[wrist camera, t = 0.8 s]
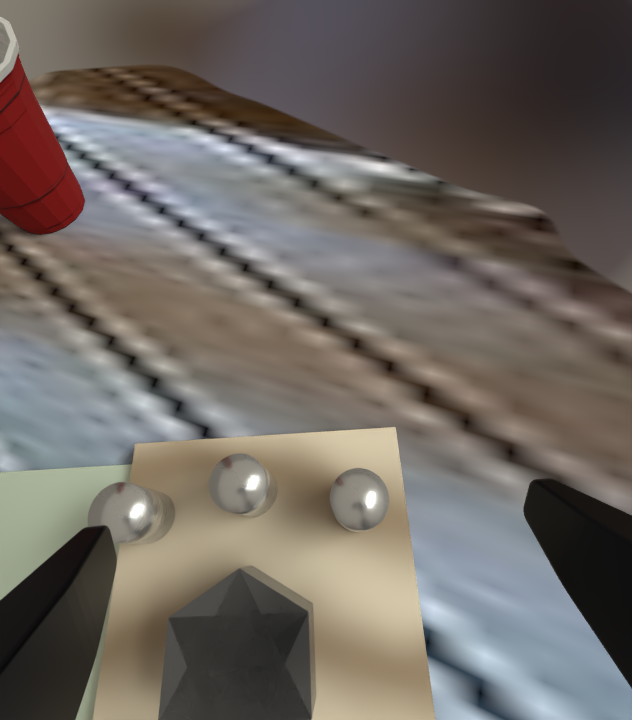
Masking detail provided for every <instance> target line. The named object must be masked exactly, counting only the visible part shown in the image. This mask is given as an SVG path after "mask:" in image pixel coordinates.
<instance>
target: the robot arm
mask: <svg viewBox="0 0 632 720" xmlns="http://www.w3.org/2000/svg"><path fill="white" fill-rule="evenodd" d="M524 516H525V519H526V521H527V523H528V524H529V526H530V528H531V530H532V532H533V533H534V535H535V537H536V539H537V540H538V542H539V544H540V546H541V548H542V549H543V551H544V553H545V555H546V557H547V558H548V560H549V562H550V564H551V566H552V567H553V569H554V571H555V573H556V575H557V576H558V578H559V580H560V581H561V583H562V585H563V586H564V588H565V590H566V591H567V593H568V594H569V596H570V597H571V599H572V600H573V602H574V603H575V605H576V606H577V608H578V609H579V611H580V612H581V614H582V615H583V617H584V618H585V620H586V621H587V623H588V624H589V626H590V627H591V629H592V630H593V631H594V633H595V634H596V636H597V637H598V639H599V640H600V642H601V643H602V645H603V646H604V648H605V649H606V651H607V652H608V654H609V655H610V657H611V658H612V660H613V661H614V663H615V664H616V666H617V667H618V669H619V670H620V672H621V673H622V675H623V676H624V678H625V679H626V681H627V682H628V684H629V685H630V686H631V688H632V515H629V514H627V513H625V512H623V511H621V510H619V509H616V508H614V507H612V506H610V505H608V504H606V503H603V502H601V501H599V500H597V499H595V498H593V497H590V496H588V495H586V494H584V493H582V492H580V491H577V490H575V489H573V488H571V487H569V486H567V485H565V484H562V483H560V482H558V481H556V480H554V479H550V478H545V479H536V480H533V481H532V482H531V483H530V485H529V488H528V492H527V496H526V500H525V504H524ZM116 566H117V555H116V551H115V547H114V543H113V539H112V535H111V531H110V529H109V527H108V526H106V525H99V526H89V527H85V528H83V529H82V530H80V531H79V532H78V533H77V534H76V535H74V536H73V537H72V538H71V539H70V540H69V541H68V542H66V543H65V544H64V545H63V546H62V547H61V548H60V549H58V550H57V551H56V552H55V553H54V554H53V555H51V556H50V557H49V558H48V559H47V560H46V561H45V562H43V563H42V564H41V565H40V566H39V567H38V568H37V569H35V570H34V571H33V572H32V573H31V574H30V575H29V576H27V577H26V578H25V579H24V580H23V581H22V582H20V583H19V584H18V585H17V586H16V587H15V588H14V589H12V590H11V591H10V592H9V593H8V594H7V595H6V596H4V597H3V598H2V599H1V600H0V720H76V717H77V714H78V711H79V708H80V705H81V702H82V699H83V696H84V693H85V689H86V686H87V683H88V680H89V677H90V674H91V671H92V668H93V665H94V662H95V658H96V655H97V651H98V647H99V643H100V639H101V634H102V630H103V625H104V621H105V616H106V612H107V607H108V603H109V599H110V594H111V590H112V585H113V581H114V576H115V572H116Z"/></svg>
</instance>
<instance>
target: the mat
mask: <svg viewBox="0 0 632 720" xmlns="http://www.w3.org/2000/svg"><path fill="white" fill-rule="evenodd" d="M131 468H132V464H129V465H112V466H96V467H80V468H64V469H47V470H31V471H15V472H0V600H1V599H2V598H3V597H4V596H6V595H7V594H8V593H9V592H10V591H11V590H12V589H14V588H15V587H16V586H17V585H18V584H19V583H20V582H22V581H23V580H24V579H25V578H26V577H27V576H29V575H30V574H31V573H32V572H33V571H34V570H35V569H37V568H38V567H39V566H40V565H41V564H42V563H43V562H45V561H46V560H47V559H48V558H49V557H50V556H51V555H53V554H54V553H55V552H56V551H57V550H58V549H60V548H61V547H62V546H63V545H64V544H65V543H66V542H68V541H69V540H70V539H71V538H72V537H73V536H74V535H76V534H77V533H78V532H79V531H80V530H82V529H83V528H85V527H88V512H89V508H90V506H91V504H92V502H93V500H94V498H95V497H96V496H97V494H98V493H99V492H100V491H102V490H103V489H104V488H105V487H107V486H109V485H111V484H113V483H117V482H127V483H129V481H130V475H131ZM119 546H120V544H114V547H115V551H116V555H117V559H118V552H119ZM114 578H115V576H114ZM113 585H114V581H113ZM113 585H112V590H111V594H110V599H109V603H108V607H107V612H106V616H105V621H104V625H103V630H102V634H101V639H100V643H99V647H98V651H97V655H96V658H95V662H94V665H93V668H92V671H91V674H90V677H89V680H88V683H87V686H86V689H85V693H84V696H83V699H82V702H81V705H80V708H79V711H78V714H77V717H76V720H93V714H94V708H95V701H96V695H97V688H98V682H99V675H100V669H101V662H102V656H103V649H104V643H105V637H106V630H107V624H108V617H109V611H110V604H111V598H112V591H113Z"/></svg>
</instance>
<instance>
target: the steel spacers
mask: <svg viewBox="0 0 632 720" xmlns="http://www.w3.org/2000/svg"><path fill="white" fill-rule="evenodd" d="M209 492H210V495H211V498H212V500H213V501H214V503H215V504H216V505H217V506H218V507H219V508H221V509H223V510H225V511H228V512H231V513H235V514H239V515H243V516H247V517H257V516H260V515H262V514H264V513H266V512H267V511H268V510H269V509H270V508H271V507H272V506H273V504H274V502H275V500H276V497H277V483H276V480H275V478H274V476H273V475H272V474H271V473H270V472H269V471H268V470H267V469H266V468H265V467H264V466H263V465H262V464H261V463H260V462H258V461H257V460H256V459H255V458H254V457H252V456H250V455H248V454H243V453H236V454H232V455H229V456H227V457H225V458H223V459H222V460H221V461H220V462H219V463H218V464H217V465H216V466H215V467H214V469H213V471H212V473H211V476H210V479H209ZM330 504H331V508H332V511H333V513H334V515H335V517H336V519H337V521H338V522H339V523H340V525H341V526H343V527H344V528H345V529H347V530H349V531H352V532H365V531H368V530H370V529H372V528H373V527H375V526H377V525H378V524H379V523H380V522H381V521H382V520H383V519H384V517H385V516H386V514H387V511H388V508H389V493H388V490H387V487H386V485H385V483H384V482H383V480H382V479H381V478H380V477H379V476H378V475H377V474H375V473H374V472H372V471H370V470H368V469H364V468H353V469H349V470H347V471H345V472H343V473H342V474H341V475H339V476H338V477H337V479H336V480H335V481H334V483H333V485H332V488H331V492H330ZM174 519H175V507H174V503H173V501H172V499H171V498H170V497H169V496H168V495H167V494H165V493H163V492H160V491H156V490H153V489H149V488H146V487H142V486H138V485H135V484H131V483H127V482H117V483H113V484H111V485H109V486H107V487H105V488H104V489H103V490H102V491H100V492H99V493H98V494H97V496H96V497H95V498H94V500H93V502H92V504H91V506H90V508H89V512H88V527H89V526H99V525H106V526H108V527H109V529H110V531H111V535H112V539H113V543H114V544H129V543H153V542H156V541H158V540H160V539H161V538H163V537H164V536H165V535H166V534H167V533H168V532H169V530H170V529H171V527H172V525H173V522H174Z"/></svg>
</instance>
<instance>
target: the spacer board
mask: <svg viewBox="0 0 632 720" xmlns="http://www.w3.org/2000/svg"><path fill="white" fill-rule="evenodd" d="M236 453H243V454H248V455H250V456H252V457H254V458H255V459H256V460H257V461H258V462H260V463H261V464H262V465H263V466H264V467H265V468H266V469H267V470H268V471H269V472H270V473H271V474H272V475H273V476H274V478H275V480H276V483H277V497H276V500H275V502H274V504H273V506H272V507H271V508H270V509H269V510H268V511H267V512H266V513H264V514H262V515H260V516H257V517H247V516H243V515H239V514H235V513H231V512H228V511H225V510H223V509H221V508H219V507H218V506H217V505H216V504H215V503H214V501H213V500H212V498H211V495H210V492H209V479H210V476H211V473H212V471H213V469H214V467H215V466H216V465H217V464H218V463H219V462H220V461H221V460H222V459H223V458H225V457H227V456H229V455H232V454H236ZM353 468H364V469H368V470H370V471H372V472H374V473H375V474H377V475H378V476H379V477H380V478H381V479H382V480H383V482H384V483H385V485H386V487H387V490H388V493H389V508H388V511H387V514H386V516H385V517H384V519H383V520H382V521H381V522H380V523H379V524H378V525H377V526H375V527H373V528H372V529H370V530H368V531H365V532H352V531H349V530H347V529H345V528H344V527H343V526H341V525H340V523H339V522H338V521H337V519H336V517H335V515H334V513H333V511H332V508H331V504H330V492H331V488H332V485H333V483H334V481H335V480H336V479H337V477H338V476H339V475H341V474H342V473H343V472H345V471H347V470H349V469H353ZM129 483H131V484H135V485H138V486H142V487H146V488H149V489H153V490H156V491H160V492H163V493H165V494H167V495H168V496H169V497H170V498H171V499H172V501H173V503H174V507H175V519H174V522H173V525H172V527H171V529H170V530H169V532H168V533H167V534H166V535H165V536H164V537H163V538H161V539H160V540H158V541H156V542H153V543H129V544H120V546H119V552H118V559H117V566H116V572H115V578H114V585H113V591H112V598H111V604H110V611H109V617H108V624H107V630H106V637H105V643H104V649H103V656H102V662H101V669H100V675H99V682H98V688H97V695H96V701H95V708H94V714H93V720H158V715H159V705H160V695H161V685H162V675H163V665H164V655H165V645H166V635H167V625H168V617H170V616H171V615H173V614H174V613H175V612H177V611H178V610H180V609H181V608H183V607H184V606H186V605H187V604H188V603H190V602H191V601H193V600H194V599H196V598H197V597H199V596H200V595H201V594H203V593H204V592H206V591H207V590H209V589H210V588H211V587H213V586H214V585H216V584H217V583H219V582H220V581H222V580H223V579H224V578H226V577H227V576H229V575H230V574H232V573H233V572H235V571H236V570H237V569H239V568H242V567H246V566H251V565H252V566H254V567H256V568H257V569H259V570H260V571H262V572H264V573H265V574H267V575H268V576H270V577H272V578H273V579H275V580H277V581H278V582H280V583H281V584H283V585H285V586H286V587H288V588H289V589H291V590H293V591H294V592H296V593H298V594H299V595H301V596H302V597H304V598H306V599H307V600H309V601H310V602H312V603H313V612H314V640H315V667H316V695H317V696H316V701H315V706H314V711H313V716H312V719H311V720H435V713H434V705H433V698H432V691H431V683H430V676H429V669H428V661H427V654H426V647H425V640H424V632H423V625H422V618H421V610H420V603H419V596H418V588H417V581H416V574H415V566H414V559H413V552H412V544H411V537H410V530H409V522H408V515H407V508H406V500H405V493H404V486H403V479H402V471H401V464H400V457H399V449H398V442H397V435H396V427H390V428H374V429H359V430H343V431H327V432H312V433H296V434H280V435H265V436H249V437H233V438H218V439H202V440H186V441H171V442H155V443H139V444H135V449H134V455H133V462H132V468H131V475H130V481H129Z"/></svg>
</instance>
